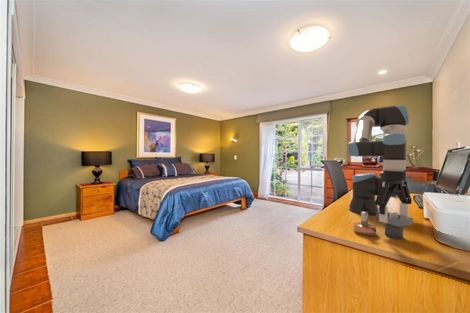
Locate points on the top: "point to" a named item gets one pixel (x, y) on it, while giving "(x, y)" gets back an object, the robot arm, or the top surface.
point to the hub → (364, 226)
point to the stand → (393, 228)
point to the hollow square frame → (398, 220)
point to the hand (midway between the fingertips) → (393, 220)
